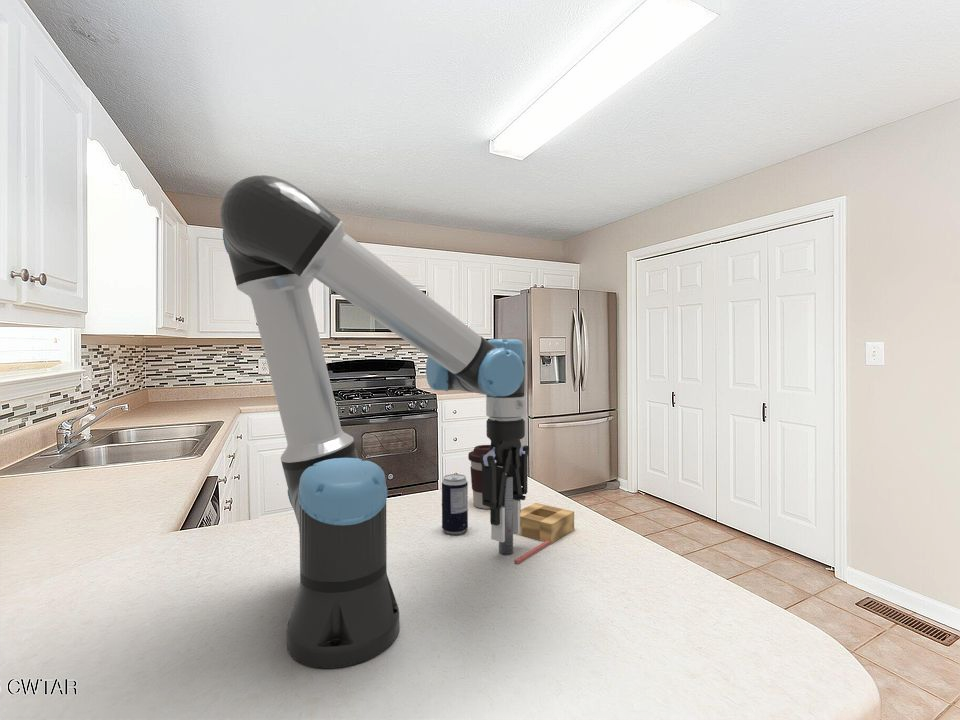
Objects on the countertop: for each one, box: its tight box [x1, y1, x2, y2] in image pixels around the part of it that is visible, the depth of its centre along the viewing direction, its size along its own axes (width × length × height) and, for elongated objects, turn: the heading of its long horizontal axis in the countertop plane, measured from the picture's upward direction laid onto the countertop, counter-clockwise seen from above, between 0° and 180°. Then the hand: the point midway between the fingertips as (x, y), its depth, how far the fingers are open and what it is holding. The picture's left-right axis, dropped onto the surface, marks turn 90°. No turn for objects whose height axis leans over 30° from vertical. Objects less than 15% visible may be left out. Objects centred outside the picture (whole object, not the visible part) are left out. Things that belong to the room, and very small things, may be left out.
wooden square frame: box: [518, 502, 575, 545], centre depth 104 cm, size 10×10×4 cm
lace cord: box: [514, 540, 552, 565], centre depth 93 cm, size 12×1×1 cm, turn 141°
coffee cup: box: [467, 444, 503, 510], centre depth 122 cm, size 10×10×15 cm
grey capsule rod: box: [498, 474, 514, 556], centre depth 93 cm, size 3×3×15 cm
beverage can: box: [441, 473, 469, 536], centre depth 104 cm, size 6×6×12 cm
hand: (505, 535), depth 93 cm, fingers open, 4 cm apart
